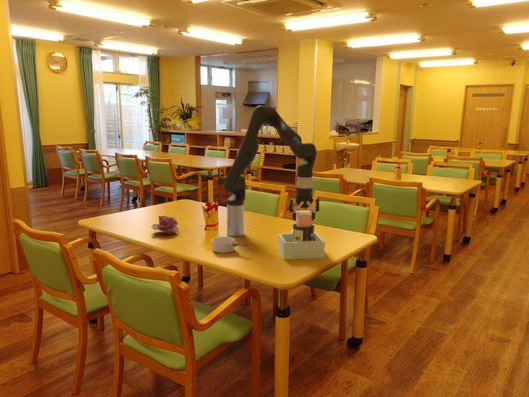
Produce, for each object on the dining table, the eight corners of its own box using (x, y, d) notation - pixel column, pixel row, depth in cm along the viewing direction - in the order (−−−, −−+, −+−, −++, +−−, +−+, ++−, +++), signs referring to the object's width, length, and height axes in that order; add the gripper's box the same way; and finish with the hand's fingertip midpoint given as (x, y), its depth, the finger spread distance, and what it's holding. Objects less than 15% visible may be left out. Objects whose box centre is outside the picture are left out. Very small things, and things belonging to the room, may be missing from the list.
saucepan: (239, 259, 190) (239, 247, 189) (206, 251, 201) (206, 240, 200) (253, 252, 199) (254, 241, 198) (221, 245, 210) (221, 235, 209)
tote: (283, 259, 190) (284, 242, 188) (278, 249, 205) (278, 233, 203) (324, 258, 193) (324, 241, 191) (315, 247, 208) (316, 232, 206)
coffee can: (314, 251, 202) (315, 223, 200) (312, 258, 192) (313, 228, 190) (293, 249, 204) (294, 222, 202) (290, 256, 194) (291, 227, 192)
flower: (149, 232, 223) (154, 214, 223) (151, 229, 237) (155, 212, 237) (176, 239, 226) (181, 221, 226) (176, 235, 240) (181, 218, 240)
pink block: (298, 227, 192) (298, 213, 191) (295, 224, 198) (295, 210, 197) (311, 227, 193) (311, 213, 192) (308, 223, 199) (308, 210, 198)
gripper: (291, 187, 188) (290, 222, 191) (321, 187, 189) (320, 221, 193) (288, 185, 195) (287, 218, 198) (317, 184, 197) (316, 218, 200)
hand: (303, 220), depth 195 cm, fingers open, 8 cm apart
